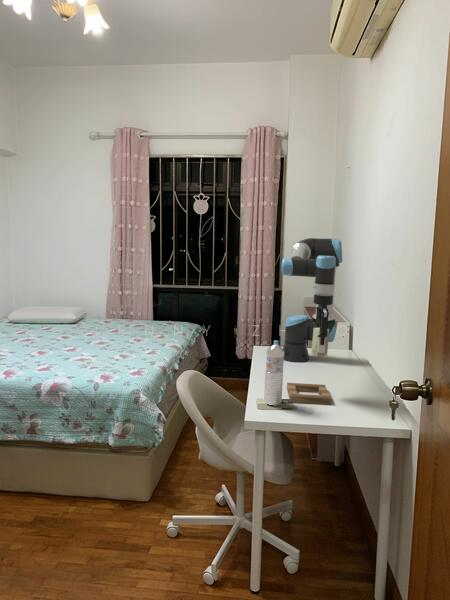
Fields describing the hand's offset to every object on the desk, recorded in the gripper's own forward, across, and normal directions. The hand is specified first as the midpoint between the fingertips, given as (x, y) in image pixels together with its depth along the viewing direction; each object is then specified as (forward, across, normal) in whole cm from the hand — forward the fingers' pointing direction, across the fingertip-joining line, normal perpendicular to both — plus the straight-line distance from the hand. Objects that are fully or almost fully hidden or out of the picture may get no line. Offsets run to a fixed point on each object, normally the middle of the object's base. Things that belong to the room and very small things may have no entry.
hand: (319, 350), depth 176 cm
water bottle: (+19, +11, -19) cm, 29 cm away
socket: (+19, +2, -4) cm, 20 cm away
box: (+2, 0, 0) cm, 2 cm away
